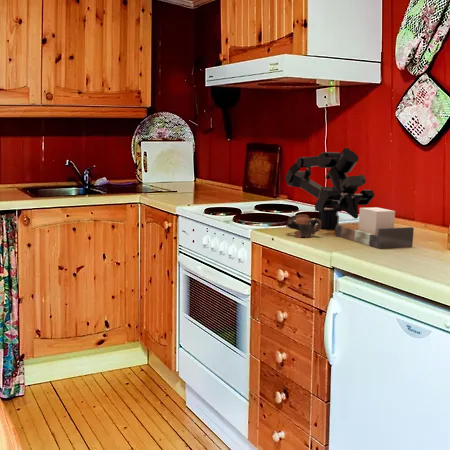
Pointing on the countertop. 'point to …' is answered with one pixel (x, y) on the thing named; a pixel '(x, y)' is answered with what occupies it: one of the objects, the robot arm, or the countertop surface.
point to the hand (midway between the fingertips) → (356, 217)
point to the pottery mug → (303, 225)
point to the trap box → (379, 237)
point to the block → (375, 219)
